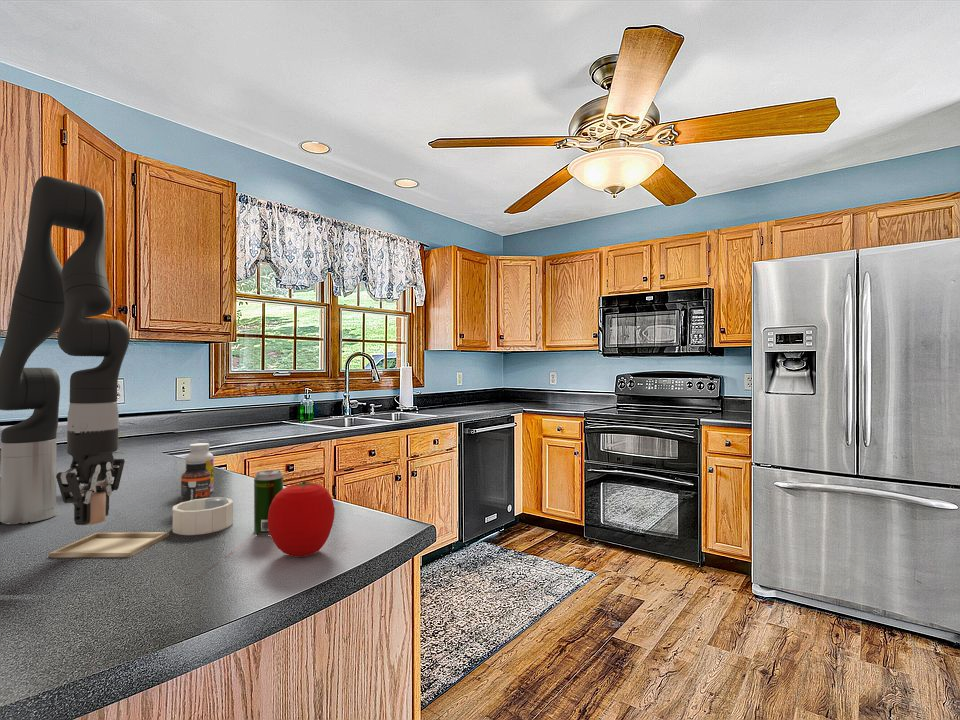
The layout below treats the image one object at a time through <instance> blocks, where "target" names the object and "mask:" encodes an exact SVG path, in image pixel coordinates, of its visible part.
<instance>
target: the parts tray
mask: <svg viewBox="0 0 960 720" xmlns="http://www.w3.org/2000/svg"><path fill="white" fill-rule="evenodd" d="M169 536H170V535H169V532H164V531H163V532H162V531H161V532H159V531H156V532H155V531H153V532H151V531H150V532H148V531H146V532H145V531H144V532H141V531H139V532H128V531H127V532H95V533H92V534H90V535H88V536H85V537H84V538H80V539H79V540H76V541H73V542H71V543H69V544H67V545H65V546H62V547H60V548H58V549H56V550H53V551H51V552H49V553H48V558H53V559H55V558H59V559H61V558H64V559H65V558H131V557H133V556H135V555H137V554H139V553H140V552H143V551H144V550H145V549H146V550H147V548H150V547H152V546H154V545H155V544H157V543H159V542H160V541H162V540H164V539H166V538H168V537H169Z"/></svg>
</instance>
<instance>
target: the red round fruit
mask: <svg viewBox="0 0 960 720" xmlns="http://www.w3.org/2000/svg"><path fill="white" fill-rule="evenodd" d="M315 482H316V481H314V482H311V481H308V482H306V480H302V482H298V483H294V484H291V485H288V486H285V487H283V489H282V490H281V491H280V492H279V493H278V494H277V495H276V496H275V497H274V499H273V500H272V503H271V505H270V508H269V513H268V528H269V533H270V535H271V536H270V537H271V539H272V541H273V543H274V545H275V546H276V547H277V549H278V550H280V551H281V553H283V554H285V555H288V556H291V557H295V558H296V557H298V558H301V557H302V558H303V557H308V556H311V555H315V554H316V553H318V552H319V551H320V550H321V549H322V548H323V547H324V546H325V544H326V542H327V540H328V538H329V536H330V534H331V530H332V527H333V525H334V524H333V523H334V520H335V514H336V513H335V510H336V509H335V504H334V500H333V497H332V495H331V493H330V492H329V491H328V489H327V488H326V487H324V486H323V485H322V484H319V483H315Z"/></svg>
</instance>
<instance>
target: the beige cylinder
mask: <svg viewBox="0 0 960 720" xmlns="http://www.w3.org/2000/svg"><path fill="white" fill-rule="evenodd" d="M81 495H82V497H83V495H84V493H81ZM89 503H90V523H89V524H86V525H85V526H87V525H89V526H91V525H96V524H100V523H103V522H105V521H106V518H107V516H106V492H102V491H97V492H92V493H91V498H90V502H89Z"/></svg>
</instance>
